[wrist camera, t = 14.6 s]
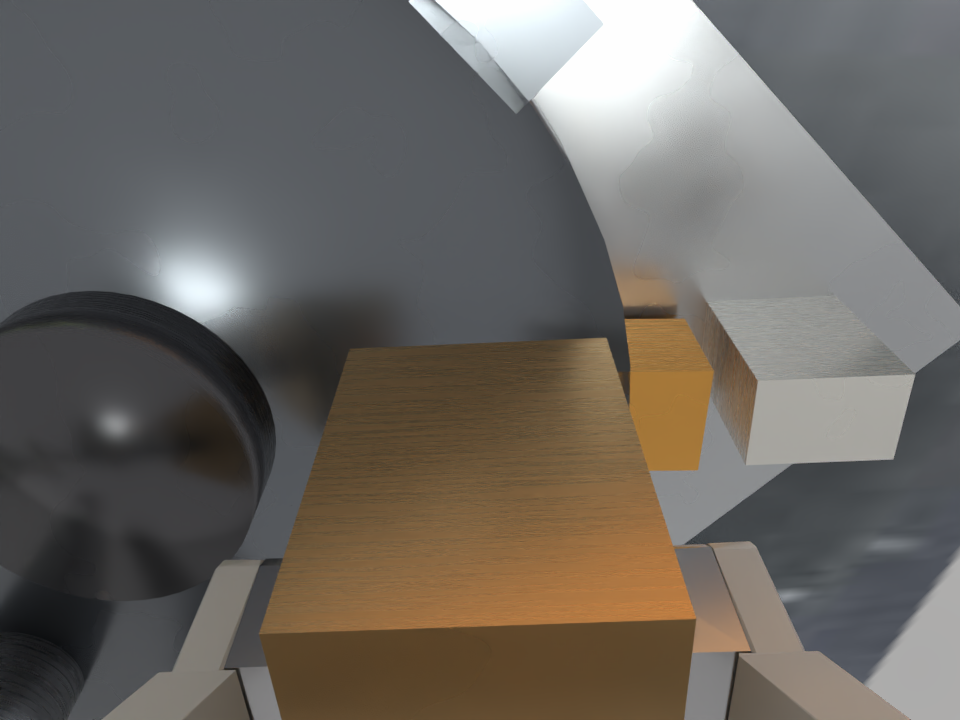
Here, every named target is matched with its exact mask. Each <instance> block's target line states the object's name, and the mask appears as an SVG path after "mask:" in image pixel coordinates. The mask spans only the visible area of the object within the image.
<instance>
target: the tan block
mask: <svg viewBox="0 0 960 720" xmlns="http://www.w3.org/2000/svg"><path fill="white" fill-rule="evenodd" d="M695 626H696V616H695V613H694V610H693V607H692V604H691V600H690V597H689V594H688V591H687V588H686V585H685V582H684V579H683V575H682V572H681V569H680V566H679V563H678V560H677V557H676V554H675V550H674V547H673V544H672V541H671V538H670V535H669V532H668V529H667V525H666V522H665V519H664V516H663V513H662V510H661V507H660V504H659V500H658V497H657V494H656V491H655V488H654V485H653V482H652V479H651V475H650V472H649V469H648V466H647V463H646V460H645V457H644V454H643V450H642V447H641V444H640V441H639V438H638V435H637V432H636V429H635V425H634V422H633V419H632V416H631V413H630V410H629V407H628V404H627V400H626V397H625V394H624V391H623V388H622V385H621V382H620V379H619V375H618V372H617V369H616V366H615V363H614V360H613V357H612V353H611V350H610V347H609V344H608V341H607V338H587V339H564V340H541V341H518V342H494V343H471V344H448V345H425V346H401V347H378V348H355V349H350V350H349V353H348V356H347V359H346V362H345V366H344V369H343V372H342V375H341V378H340V381H339V384H338V388H337V391H336V394H335V397H334V400H333V403H332V406H331V410H330V413H329V416H328V419H327V422H326V425H325V428H324V432H323V435H322V438H321V441H320V444H319V447H318V450H317V453H316V457H315V460H314V463H313V466H312V469H311V472H310V475H309V479H308V482H307V485H306V488H305V491H304V494H303V497H302V501H301V504H300V507H299V510H298V513H297V516H296V519H295V523H294V526H293V529H292V532H291V535H290V538H289V541H288V545H287V548H286V551H285V554H284V557H283V560H282V563H281V566H280V570H279V573H278V576H277V579H276V582H275V585H274V588H273V592H272V595H271V598H270V601H269V604H268V607H267V610H266V614H265V617H264V620H263V623H262V626H261V629H260V632H259V636H260V640H261V644H262V647H263V651H264V655H265V659H266V663H267V666H268V670H269V674H270V678H271V682H272V685H273V689H274V693H275V697H276V700H277V704H278V708H279V712H280V716H281V719H282V720H684V717H685V709H686V700H687V692H688V684H689V676H690V667H691V659H692V651H693V643H694V635H695Z"/></svg>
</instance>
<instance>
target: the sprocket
mask: <svg viewBox="0 0 960 720" xmlns="http://www.w3.org/2000/svg"><path fill="white" fill-rule="evenodd" d="M603 25H604V23H603V22H602V21H601V20H600V18H599V17H598V16H597V15H596V14H595V13H594V11H593V10H592V9H591V8H590V7H589V6H588V4H587V3H586V2H585V1H584V0H0V720H102V719H103V718H104V717H105V716H106V715H108V714H109V713H110V712H111V711H112V710H114V709H115V708H116V707H117V706H119V705H120V704H121V703H122V702H123V701H125V700H126V699H127V698H128V697H129V696H131V695H132V694H133V693H134V692H135V691H137V690H138V689H139V688H140V687H142V686H143V685H144V684H145V683H146V682H148V681H149V680H150V679H151V678H152V677H154V676H155V675H156V674H157V673H159V672H172V670H173V667H174V665H175V663H176V660H177V658H178V656H179V653H180V651H181V649H182V646H183V644H184V641H185V639H186V637H187V634H188V632H189V630H190V627H191V625H192V623H193V620H194V618H195V616H196V613H197V611H198V609H199V606H200V604H201V602H202V599H203V597H204V595H205V592H206V590H207V587H208V585H209V583H210V580H211V578H212V576H213V573H214V571H215V569H216V568H217V567H218V566H219V565H220V564H221V563H222V562H223V561H224V560H265V559H268V558H283V557H284V554H285V551H286V548H287V545H288V541H289V538H290V535H291V532H292V529H293V526H294V523H295V519H296V516H297V513H298V510H299V507H300V504H301V501H302V497H303V494H304V491H305V488H306V485H307V482H308V479H309V475H310V472H311V469H312V466H313V463H314V460H315V457H316V453H317V450H318V447H319V444H320V441H321V438H322V435H323V432H324V428H325V425H326V422H327V419H328V416H329V413H330V410H331V406H332V403H333V400H334V397H335V394H336V391H337V388H338V384H339V381H340V378H341V375H342V372H343V369H344V366H345V362H346V359H347V356H348V353H349V350H350V349H355V348H378V347H401V346H425V345H448V344H471V343H494V342H518V341H541V340H564V339H587V338H607V341H608V344H609V347H610V350H611V353H612V357H613V360H614V363H615V366H616V369H617V372H618V375H619V379H620V382H621V385H622V388H623V391H624V394H625V397H626V400H627V404H628V407H629V410H630V413H631V416H632V419H633V422H634V425H635V429H636V432H637V435H638V438H639V441H640V444H641V447H642V450H643V454H644V457H645V460H646V463H647V466H648V469H649V471H687V470H698V468H699V461H700V455H701V449H702V443H703V436H704V430H705V424H706V418H707V412H708V405H709V399H710V393H711V387H712V380H713V374H714V370H713V369H712V367H711V365H710V363H709V361H708V360H707V358H706V356H705V354H704V352H703V351H702V349H701V347H700V345H699V343H698V342H697V340H696V338H695V336H694V334H693V333H692V331H691V329H690V327H689V325H688V324H687V322H686V320H685V319H624V311H623V304H622V300H621V297H620V293H619V290H618V286H617V283H616V279H615V275H614V272H613V268H612V265H611V261H610V258H609V254H608V251H607V247H606V243H605V240H604V238H603V236H602V233H601V231H600V229H599V226H598V224H597V222H596V219H595V217H594V215H593V212H592V210H591V208H590V205H589V203H588V201H587V199H586V196H585V194H584V192H583V190H582V187H581V185H580V183H579V181H578V178H577V176H576V174H575V172H574V169H573V167H572V165H571V163H570V160H569V158H568V156H567V153H566V151H565V149H564V147H563V144H562V142H561V141H560V139H559V137H558V136H557V134H556V133H555V131H554V129H553V128H552V126H551V124H550V123H549V121H548V120H547V118H546V116H545V115H544V113H543V111H542V110H541V108H540V107H539V105H538V103H537V102H536V100H535V99H534V96H535V95H536V94H537V93H538V92H539V91H540V90H541V89H542V87H543V86H544V85H545V84H546V83H547V82H548V81H549V80H550V79H551V78H552V77H553V76H554V75H555V74H556V73H557V72H558V71H559V70H560V69H561V68H562V67H563V66H564V65H565V64H566V63H567V62H568V61H569V60H570V59H571V58H572V57H573V56H574V55H575V54H576V53H577V52H578V51H579V50H580V49H581V48H582V47H583V46H584V45H585V44H586V43H587V42H588V41H589V39H590V38H591V37H592V36H593V35H594V34H595V33H596V32H597V31H598V30H599V29H600V28H601V27H602V26H603Z"/></svg>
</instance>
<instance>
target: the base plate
mask: <svg viewBox="0 0 960 720" xmlns="http://www.w3.org/2000/svg"><path fill="white" fill-rule="evenodd" d="M584 1H585V2H586V3H587V4H588V6H589V7H590V8H591V9H592V10H593V11H594V13H595V14H596V15H597V16H598V17H599V18H600V20H601V21H602V22H603V23H604V25H603V26H602V27H601V28H600V29H599V30H598V31H597V32H596V33H595V34H594V35H593V36H592V37H591V38H590V39H589V41H588V42H587V43H586V44H585V45H584V46H583V47H582V48H581V49H580V50H579V51H578V52H577V53H576V54H575V55H574V56H573V57H572V58H571V59H570V60H569V61H568V62H567V63H566V64H565V65H564V66H563V67H562V68H561V69H560V70H559V71H558V72H557V73H556V74H555V75H554V76H553V77H552V78H551V79H550V80H549V81H548V82H547V83H546V84H545V85H544V86H543V87H542V89H541V90H540V91H539V92H538V93H537V94H536V95H535V96H534V99H535V100H536V102H537V103H538V105H539V107H540V108H541V110H542V111H543V113H544V115H545V116H546V118H547V120H548V121H549V123H550V124H551V126H552V128H553V129H554V131H555V133H556V134H557V136H558V137H559V139H560V141H561V142H562V144H563V147H564V149H565V151H566V153H567V156H568V158H569V160H570V163H571V165H572V167H573V169H574V172H575V174H576V176H577V178H578V181H579V183H580V185H581V187H582V190H583V192H584V194H585V196H586V199H587V201H588V203H589V205H590V208H591V210H592V212H593V215H594V217H595V219H596V222H597V224H598V226H599V229H600V231H601V233H602V236H603V238H604V240H605V243H606V247H607V251H608V254H609V258H610V261H611V265H612V268H613V272H614V275H615V279H616V283H617V286H618V290H619V293H620V297H621V300H622V304H623V311H624V319H685V320H686V322H687V324H688V325H689V327H690V329H691V331H692V333H693V334H694V336H695V338H696V340H697V342H698V343H699V345H700V347H701V349H702V351H703V352H704V354H705V356H706V358H707V360H708V361H709V363H710V365H711V367H712V369H713V370H714V374H713V380H712V387H711V393H710V399H709V405H708V412H707V418H706V424H705V430H704V436H703V443H702V449H701V455H700V461H699V468H698V470H687V471H649V472H650V475H651V479H652V482H653V485H654V488H655V491H656V494H657V497H658V500H659V504H660V507H661V510H662V513H663V516H664V519H665V522H666V525H667V529H668V532H669V535H670V538H671V541H672V544H673V545H683V544H685V543H686V542H687V541H689V540H690V539H691V538H693V537H694V536H696V535H697V534H698V533H700V532H701V531H702V530H704V529H705V528H706V527H708V526H709V525H710V524H712V523H713V522H714V521H716V520H717V519H719V518H720V517H721V516H723V515H724V514H725V513H727V512H728V511H729V510H731V509H732V508H733V507H735V506H736V505H737V504H739V503H740V502H742V501H743V500H744V499H746V498H747V497H748V496H750V495H751V494H752V493H754V492H755V491H756V490H758V489H759V488H760V487H762V486H763V485H765V484H766V483H767V482H769V481H770V480H771V479H773V478H774V477H775V476H777V475H778V474H779V473H781V472H782V471H783V470H785V469H786V468H788V467H789V466H790V465H792V464H793V463H817V462H841V461H866V460H891V459H894V455H895V451H896V447H897V443H898V440H899V436H900V432H901V428H902V424H903V420H904V416H905V413H906V409H907V405H908V401H909V397H910V393H911V389H912V385H913V382H914V378H915V373H916V372H917V371H919V370H920V369H921V368H923V367H924V366H926V365H927V364H928V363H930V362H931V361H932V360H934V359H935V358H936V357H938V356H939V355H940V354H942V353H943V352H944V351H946V350H947V349H949V348H950V347H951V346H953V345H954V344H955V343H957V342H958V341H959V340H960V306H959V305H958V304H957V303H956V302H955V301H954V299H953V298H952V297H951V296H950V295H949V294H948V293H947V291H946V290H945V289H944V288H943V287H942V286H941V285H940V283H939V282H938V281H937V280H936V279H935V278H934V277H933V275H932V274H931V273H930V272H929V271H928V270H927V268H926V267H925V266H924V265H923V264H922V263H921V262H920V260H919V259H918V258H917V257H916V256H915V255H914V254H913V252H912V251H911V250H910V249H909V248H908V247H907V246H906V244H905V243H904V242H903V241H902V240H901V239H900V238H899V236H898V235H897V234H896V233H895V232H894V231H893V230H892V228H891V227H890V226H889V225H888V224H887V223H886V222H885V220H884V219H883V218H882V217H881V216H880V215H879V214H878V212H877V211H876V210H875V209H874V208H873V207H872V206H871V204H870V203H869V202H868V201H867V200H866V199H865V198H864V196H863V195H862V194H861V193H860V192H859V191H858V190H857V188H856V187H855V186H854V185H853V184H852V183H851V182H850V180H849V179H848V178H847V177H846V176H845V175H844V174H843V172H842V171H841V170H840V169H839V168H838V167H837V166H836V164H835V163H834V162H833V161H832V160H831V159H830V158H829V156H828V155H827V154H826V153H825V152H824V151H823V150H822V148H821V147H820V146H819V145H818V144H817V143H816V142H815V140H814V139H813V138H812V137H811V136H810V135H809V134H808V132H807V131H806V130H805V129H804V128H803V127H802V126H801V124H800V123H799V122H798V121H797V120H796V119H795V118H794V116H793V115H792V114H791V113H790V112H789V111H788V110H787V108H786V107H785V106H784V105H783V104H782V103H781V102H780V100H779V99H778V98H777V97H776V96H775V95H774V94H773V92H772V91H771V90H770V89H769V88H768V87H767V86H766V84H765V83H764V82H763V81H762V80H761V79H760V78H759V76H758V75H757V74H756V73H755V72H754V71H753V70H752V68H751V67H750V66H749V65H748V64H747V63H746V62H745V60H744V59H743V58H742V57H741V56H740V55H739V54H738V52H737V51H736V50H735V49H734V48H733V47H732V46H731V44H730V43H729V42H728V41H727V40H726V39H725V38H724V36H723V35H722V34H721V33H720V32H719V31H718V30H717V28H716V27H715V26H714V25H713V24H712V23H711V22H710V20H709V19H708V18H707V17H706V16H705V15H704V14H703V12H702V11H701V10H700V9H699V8H698V7H697V6H696V4H695V3H694V2H693V1H692V0H584Z"/></svg>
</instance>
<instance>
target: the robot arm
mask: <svg viewBox="0 0 960 720" xmlns="http://www.w3.org/2000/svg"><path fill="white" fill-rule="evenodd" d="M673 547H674V550H675V554H676V557H677V560H678V563H679V566H680V569H681V572H682V575H683V579H684V582H685V585H686V588H687V591H688V594H689V597H690V600H691V604H692V607H693V610H694V613H695V616H696V626H695V635H694V643H693V651H692V659H691V667H690V676H689V684H688V692H687V700H686V709H685V717H684V720H911V719H909V718H908V717H907V716H905V715H904V714H902V713H901V712H900V711H898V710H897V709H896V708H894V707H893V706H892V705H890V704H889V703H888V702H886V701H885V700H884V699H882V698H881V697H880V696H878V695H877V694H876V693H874V692H873V691H872V690H870V689H869V688H868V687H866V686H865V685H864V684H862V683H861V682H860V681H858V680H857V679H856V678H854V677H853V676H851V675H850V674H849V673H847V672H846V671H845V670H843V669H842V668H841V667H839V666H838V665H837V664H835V663H834V662H833V661H831V660H830V659H829V658H827V657H826V656H825V655H823V654H822V653H821V652H819V651H805V650H804V648H803V646H802V643H801V641H800V639H799V637H798V635H797V633H796V631H795V628H794V626H793V624H792V622H791V620H790V618H789V616H788V613H787V611H786V609H785V607H784V605H783V603H782V601H781V599H780V596H779V594H778V592H777V590H776V588H775V586H774V584H773V581H772V579H771V577H770V575H769V573H768V571H767V569H766V566H765V564H764V562H763V560H762V558H761V556H760V554H759V551H758V549H757V547H756V546H755V545H754V544H752V543H751V542H750V541H745V542H725V543H708V544H707V545H705V544H694V545H673ZM282 560H283V558H268V559H265V560H224V561H223V562H222V563H221V564H220V565H219V566H218V567H217V568H216V569H215V571H214V573H213V576H212V578H211V580H210V583H209V585H208V587H207V590H206V592H205V595H204V597H203V599H202V602H201V604H200V606H199V609H198V611H197V613H196V616H195V618H194V620H193V623H192V625H191V627H190V630H189V632H188V634H187V637H186V639H185V641H184V644H183V646H182V649H181V651H180V653H179V656H178V658H177V660H176V663H175V665H174V667H173V670H172V672H159V673H157V674H156V675H155V676H154V677H152V678H151V679H150V680H149V681H148V682H146V683H145V684H144V685H143V686H142V687H140V688H139V689H138V690H137V691H135V692H134V693H133V694H132V695H131V696H129V697H128V698H127V699H126V700H125V701H123V702H122V703H121V704H120V705H119V706H117V707H116V708H115V709H114V710H112V711H111V712H110V713H109V714H108V715H106V716H105V717H104V718H103V719H102V720H282V719H281V716H280V712H279V708H278V704H277V700H276V697H275V693H274V689H273V685H272V682H271V678H270V674H269V670H268V666H267V663H266V659H265V655H264V651H263V647H262V644H261V640H260V636H259V632H260V629H261V626H262V623H263V620H264V617H265V614H266V610H267V607H268V604H269V601H270V598H271V595H272V592H273V588H274V585H275V582H276V579H277V576H278V573H279V570H280V566H281V563H282Z"/></svg>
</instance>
